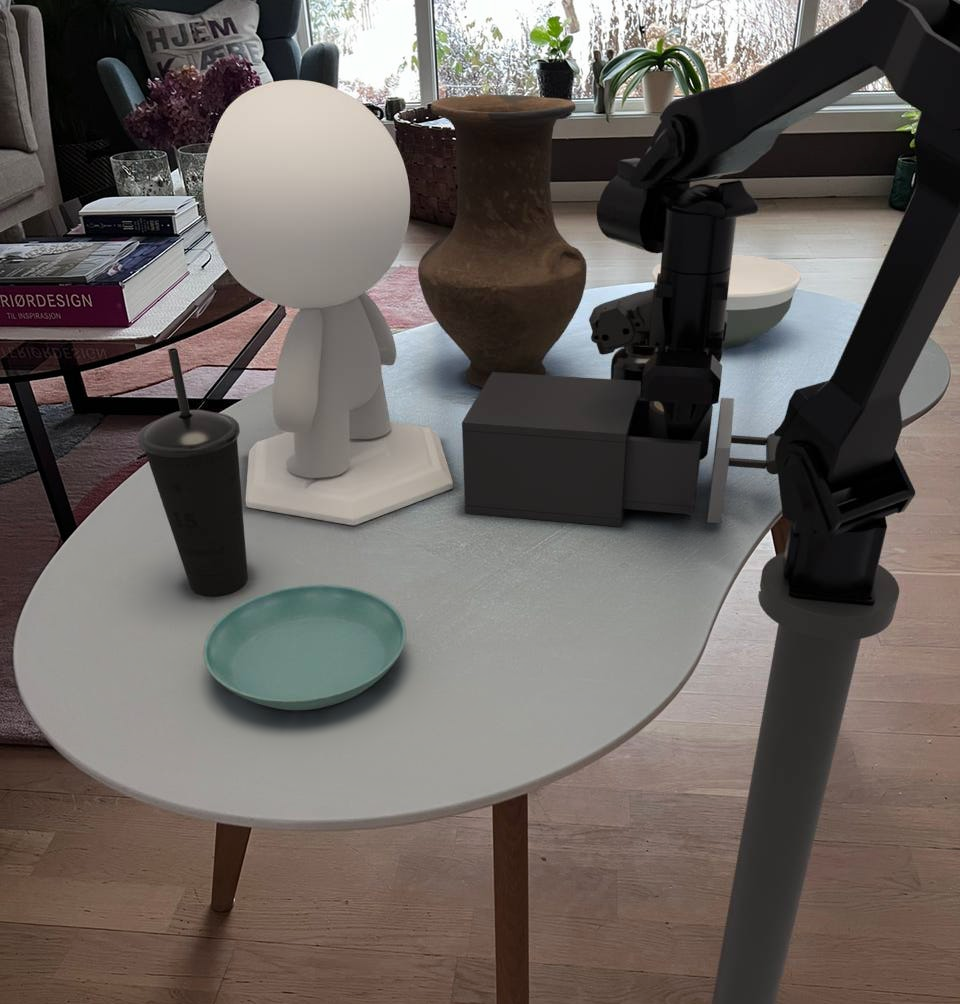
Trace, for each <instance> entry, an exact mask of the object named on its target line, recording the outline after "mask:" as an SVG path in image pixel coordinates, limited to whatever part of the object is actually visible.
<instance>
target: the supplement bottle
mask: <svg viewBox="0 0 960 1004" xmlns="http://www.w3.org/2000/svg"><path fill="white" fill-rule="evenodd" d="M649 339H650V338H648V339H646V340H644V341H641V342H638V343H635V344H632V345H628V346H625V347H621V348H618V349H617V350H616V351H615V352H614V354H613V356H612V357H611V361H610V363H611V364H610V379H615V380H632V381H641V389H640V390H641V391H640V397H641V392H642V378H643V373H644V369H645V366H646V362H647V361H648V360H649V359H651V358H652V357H653V356H654V355H655V354H656V353H655V350H656V348H650V347H649Z"/></svg>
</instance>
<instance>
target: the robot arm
mask: <svg viewBox="0 0 960 1004" xmlns="http://www.w3.org/2000/svg"><path fill="white" fill-rule="evenodd" d="M882 78H886V79H887V81H888V83H889V84H890V86H891V88H892V90H893V92H894V94H895V95H896V96H897V97H898V98H900V99H901V100H903V101H904V102H906V103H907V104H909V105H910V106H911V107H913V108H914V109H916V110H918V112H920V114H919V117H918V121H917V124H916V128H915V132H914V137H913V139H914V140H913V141H914V153H915V154H914V155H915V165H916V166H915V167H916V177H917V180H916V184H915V188H914V191H913V193H912V195H911V198H910V200H909V202H908V204H907V207H906V209H905V212H904V213H903V216H902V219H901V221H900V223H899V225H898V227H897V229H896V232H895V234H894V236H893V239H892V240H891V242H890V245H889V247H888V249H887V251H886V254H885V256H884V259H883V261H882V263H881V265H880V268H879V270H878V272H877V275H876V277H875V279H874V281H873V284H872V286H871V288H870V290H869V293H868V295H867V297H866V300H865V302H864V304H863V306H862V308H861V310H860V313H859V315H858V317H857V320H856V322H855V324H854V327H853V329H852V331H851V333H850V336H849V338H848V340H847V342H846V345H845V347H844V350H843V351H842V354H841V355H840V358H839V360H838V362H837V365H836V367H835V369H834V372H833V373H832V374H831V377H830V378H829V380H825V381H822V382H817V383H814V384H812V385H811V384H810V385H807V386H804V387H801V388H797V389H795V390H794V391H793V393H792V395H791V397H790V398H789V400H788V404H787V408H786V412H785V415H784V417H783V420H782V421H781V424H780V425H779V427H778V428H776V429H775V430H774V432H773V433H774V435H775V436H780V439H779V441H778V443H777V446H776V451H775V462H776V463H777V471H778V474H777V479H778V488H779V496H780V497H779V498H780V505H781V513H782V517H783V518H784V519H786V520H788V521H790V522H789V525H788V532H787V537H786V543H785V547H784V548H785V549H784V552H785V554H784V560H783V577H784V578H785V579H786V580H788V589H789V596H790V597H792V598H795V599H806V600H816V601H826V602H836V603H846V604H856V605H866V606H872V605H874V603H875V599H876V598H875V592H874V581H875V577H876V572H877V568H878V564H879V563H880V559H881V554H882V551H883V546H884V542H885V538H886V533H887V530H888V524H887V518H886V517H889V516H892V515H894V514H901V513H903V512H905V510H906V509H907V508H908V507H909V505H910V503H911V502H912V500H913V499H914V497H915V495H916V489H915V487H914V486H913V483H912V481H911V479H910V477H909V475H908V472H907V471H906V468H905V466H904V464H903V462H902V460H901V458H900V456H899V454H898V452H897V450H896V448H897V445H898V442H899V439H900V437H901V433H902V430H903V415H902V409H901V399H900V396H901V394H902V391H903V389H904V387H905V386H906V383H907V382H908V379H909V377H910V375H911V373H912V371H913V370H914V367H915V366H916V363H917V361H918V359H919V358H920V355H921V354H922V352H923V349H924V348H925V345H926V344H927V342H928V340H929V338H930V336H931V334H932V332H933V330H934V328H935V326H936V324H937V322H938V320H939V318H940V316H941V315H942V312H943V310H944V309H945V307H946V304H947V302H948V300H949V299H950V297H951V294H952V293H953V291H954V288H955V286H956V285H957V283H958V281H959V279H960V0H866V1H865V2H864V3H863V4H862V5H861V7H859V8H858V9H856V10H854V11H853V12H851V13H850V14H848V15H846V16H845V17H844V18H841V19H840V20H838V21H837V22H835V23H833V24H832V25H830V26H828V27H827V28H825V29H824V30H822V31H820V32H819V33H817V34H816V35H814V36H812V37H811V38H809V39H808V40H806V41H804V42H802V43H801V44H799V45H798V46H796V47H795V48H793V49H791V50H789V51H788V52H786V53H785V54H784V55H782V56H780V57H778V58H777V59H775V60H773V61H771V62H770V63H769V64H767V65H766V66H763V67H762V68H761V69H759V70H757V71H756V72H754V73H753V74H750V75H749V76H748V77H746V78H745V79H742V80H739V81H736V82H733V83H729V84H725V85H722V86H717V87H713V88H709V89H705V90H701V91H698V92H695V93H692V94H688V95H686V96H682V97H680V98H676V99H674V100H672V101H670V102H669V103H668V104H667V105H666V106H665V107H664V109H663V110H662V112H661V114H660V116H659V120H660V123H659V125H658V126H657V128H656V130H655V131H654V134H653V135H652V137H651V138H650V141H649V143H648V145H647V146H646V148H645V150H644V152H643V154H642V155H641V157H640V158H639V157H633V158H627V159H620V160H619V161H617V174H616V175H615V176H614V177H612V178H611V179H610V181H608V183H607V184H606V185H605V187H604V189H603V191H602V193H601V195H600V198H599V201H598V202H597V204H596V221H597V224H598V227H599V229H600V231H601V233H602V234H603V235H604V236H605V237H606V238H608V239H610V240H612V241H615V242H618V243H622V244H624V245H627V246H630V247H634V248H636V249H639V250H641V251H645V252H648V253H650V254H661V259H660V263H661V270H660V273H658V276H657V284H655V283H654V285H653V288H650V289H647V290H644V291H643V290H642V291H637V292H634V293H630V294H628V295H624V296H622V297H621V296H620V297H618V298H616V299H612V300H609V301H606V302H603V303H601V304H598V305H597V306H595V307H594V308H593V309H592V311H591V314H590V315H589V318H588V323H589V325H590V328H591V331H592V332H591V336H590V340H591V342H592V343H595V344H596V347H597V351H598V353H599V354H600V355H609V354H613V353H615V352H616V350H619V349H620V348H622V347H625V346H628V345H632V344H635V343H638V342H641V341H644V340H646V339H648V338H650V339H649V347H650V348H656V350H655V353H656V354H655V355H654V356H653V357H652V358H651V359H649V360H648V361H647V362H646V366H645V369H644V373H643V378H642V392H641V398H642V399H644V400H647V401H657V402H660V403H661V404H662V406H663V410H664V416H665V422H666V428H667V435H668V439H674V440H688V441H691V439H692V438H693V436H694V434H695V432H696V431H697V429H698V427H699V426H700V424H701V422H702V420H703V419H704V417H705V415H706V414H707V412H708V410H709V409H710V407H711V405H713V406H714V405H715V404H719V400H720V392H721V384H722V376H723V375H722V374H723V365H722V364H721V360H722V358H723V353H724V347H723V346H722V341H725V335H726V326H727V317H728V312H727V311H726V305H727V296H728V288H729V278H730V270H731V261H732V254H733V251H734V243H735V236H736V235H735V234H736V224H737V218H740V217H745V216H751V215H755V214H757V213H758V210H759V205H758V203H757V202H756V200H755V198H754V197H753V196H752V195H751V194H750V193H749V192H748V191H747V190H746V188H745V186H744V183H743V181H742V180H740V179H738V180H732V181H727V182H721V183H719V184H718V185H717V186H715V185H711V184H707V183H699V184H694V185H692V186H691V183H697V182H703V181H709V180H710V181H711V180H716V179H719V178H721V177H722V176H724V175H725V176H726V175H731V174H737V173H741V172H744V171H745V170H747V169H748V168H750V167H751V166H752V165H753V164H755V162H757V161H758V160H759V159H760V158H762V157H763V156H764V155H765V154H767V153H768V152H769V151H770V150H772V148H773V146H774V144H775V142H776V140H777V138H778V137H779V136H780V135H782V133H783V132H784V131H786V130H787V129H789V127H791V126H793V125H794V124H797V123H800V122H801V121H803V120H804V119H807V118H808V117H810V116H813V115H815V114H816V113H818V112H820V111H821V110H824V109H825V108H828V107H829V106H831V105H833V104H834V103H835V104H836V103H837V102H838V101H841V100H842V99H845V98H846V97H849V96H850V95H852V94H854V93H856V92H857V91H860V90H861V89H863V88H865V87H867V86H869V85H872V84H873V83H875V82H877V81H879V80H881V79H882ZM879 565H880V564H879Z"/></svg>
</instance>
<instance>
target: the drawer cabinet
mask: <svg viewBox="0 0 960 1004" xmlns="http://www.w3.org/2000/svg"><path fill="white" fill-rule="evenodd" d="M481 388H482V387H481ZM640 389H641V381H632V380H615V379H611V378H598V377H597V378H596V377H582V376H581V377H580V376H579V377H578V376H564V375H547V374H546V375H532V374H516V373H499V372H492V373H491V375H490V377H489V378H488V380H487V382H486V383H485V385H484V387H483V388H482V389H481V390H480V391H479V393H478V395H477V396H476V398H475V400H474V401H473V403H472V405H471V406H470V408H469V410H468V411H467V413H466V415H465V416H464V418H463V420H462V421H461V430H462V432H461V433H462V435H461V436H462V461H463V462H462V464H463V489H464V491H463V492H464V493H463V494H464V495H463V496H464V513H465V514H470V515H471V514H472V515H481V516H483V515H484V516H491V517H492V516H494V517H502V518H503V517H504V518H514V519H515V518H517V519H526V520H537V521H538V520H539V521H549V522H561V523H571V524H573V523H574V524H582V525H592V526H593V525H594V526H606V527H617V528H621V527H622V523H623V520H624V515H625V511H626V509H623V496H624V480H625V465H626V449H627V437H628V434H629V430H630V426H631V423H632V419H633V415H634V411H635V408H636V404H637V400H638V397H640V391H641V390H640Z"/></svg>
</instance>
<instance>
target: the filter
mask: <svg viewBox="0 0 960 1004" xmlns="http://www.w3.org/2000/svg"><path fill="white" fill-rule="evenodd" d="M713 410H714V404H713V405H711V407H710V409H709V410H708V412H707V414H706V415H705V417H704V419H703V420H702V422H701V424H700V426H699V427H698V429H697V431H696V432H695V434H694V436H693V438H692V439H691V441H701V450H700V459H699V461H700V462H701V461H702V460H703V459H705V458H706V457H707V456H708V453H709V446H710V445H709V444H710V436H711V427H712V418H713ZM647 438H660V439H668V435H667V428H666V422H665V416H664V410H663V406H662V404H661V403H660V402H657V401H651V402H650V406H649V419H648V432H647Z"/></svg>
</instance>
